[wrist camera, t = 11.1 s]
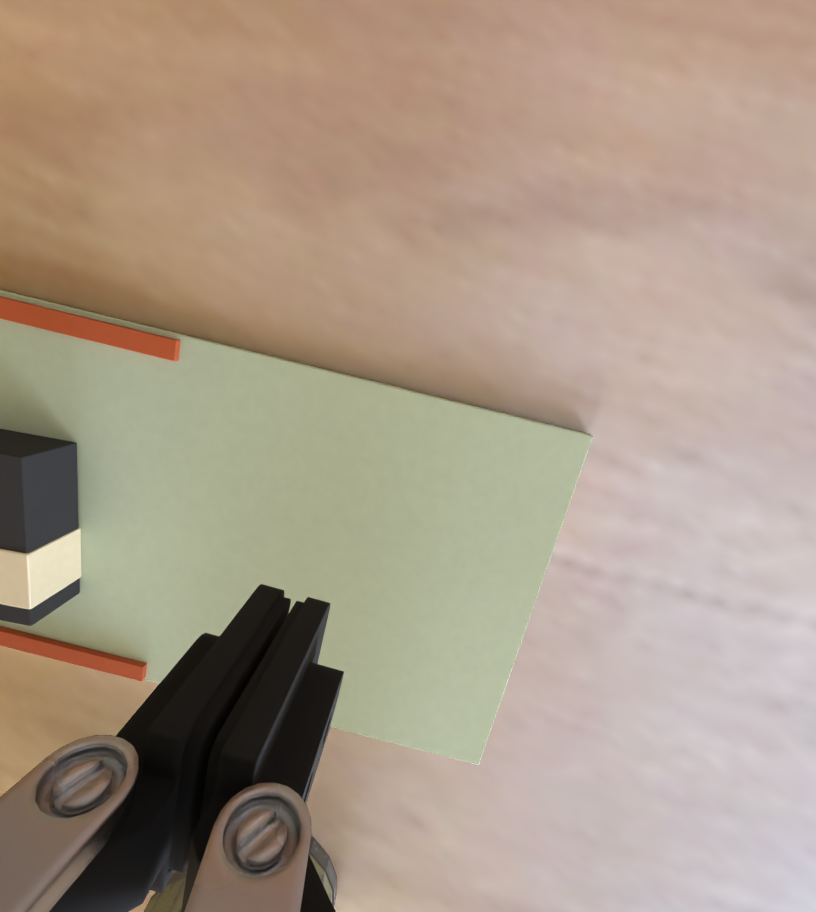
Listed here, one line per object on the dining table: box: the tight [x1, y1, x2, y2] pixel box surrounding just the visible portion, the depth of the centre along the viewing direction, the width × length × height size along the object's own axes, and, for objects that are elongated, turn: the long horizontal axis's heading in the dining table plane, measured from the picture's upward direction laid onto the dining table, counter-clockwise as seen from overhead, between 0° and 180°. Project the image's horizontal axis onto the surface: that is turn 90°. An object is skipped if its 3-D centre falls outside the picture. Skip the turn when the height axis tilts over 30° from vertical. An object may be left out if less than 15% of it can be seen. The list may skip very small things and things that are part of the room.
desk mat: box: [0, 290, 593, 765], centre depth 19 cm, size 16×28×1 cm, turn 77°
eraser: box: [0, 429, 82, 626], centre depth 18 cm, size 7×4×3 cm, turn 171°
